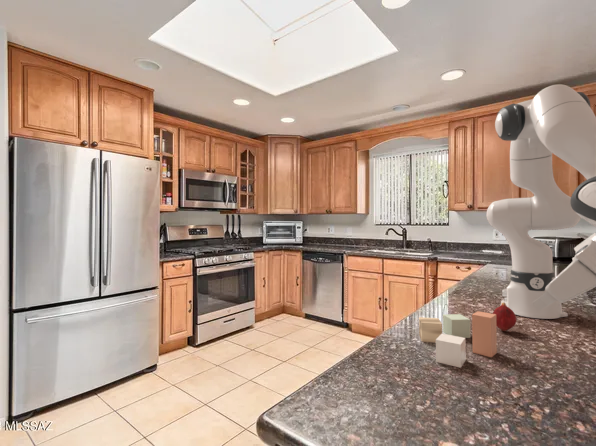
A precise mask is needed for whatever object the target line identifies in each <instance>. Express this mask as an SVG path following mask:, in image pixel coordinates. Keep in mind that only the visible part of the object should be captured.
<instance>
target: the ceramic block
mask: <svg viewBox="0 0 596 446" xmlns="http://www.w3.org/2000/svg"><path fill="white" fill-rule="evenodd" d="M466 345H467V344H466V338H463V337H458V336H453V335H447V334H445V333H442V334H441V335H440V336H439V337H438V338H437V339H436V343H435V362H436V363H439V364H443V365H448V366H451V367H452V366H453V367H457V368H460V369H461V368H462V367H463V365H464V364H465V362H466V360H467V356H466V353H467V352H466V351H467V350H466V347H467V346H466Z"/></svg>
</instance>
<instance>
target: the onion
mask: <svg viewBox="0 0 596 446" xmlns="http://www.w3.org/2000/svg"><path fill="white" fill-rule="evenodd" d="M500 305H501V304H500ZM492 314H496V327H497V328H498V329H500V331H502V332H507V331H509V330H511V329H512V328H514V327H515V325H516V324H517V316H516V314H515V313H514V312H513V311H512V310H511V309H510V308H509V307H507V306H506V304H505V303H502V305H501V306H498V307H496V308H495V309H493V312H492Z"/></svg>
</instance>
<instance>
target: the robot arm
mask: <svg viewBox="0 0 596 446" xmlns="http://www.w3.org/2000/svg"><path fill="white" fill-rule="evenodd" d="M591 107H592V106H591V101H590V98H589V97H588V95H587V94H585V93H584V92H581V91H576V90H575V89H574V88H572V87H570V86H569V85H565V84H561V83H559V84H552V85H549V86H547V87H545V88H542V89H541V90H540V91H538V92H537V93H536V94H535V96H534V97H533V98H532V99H529V100H524V101H520V102H518V103H511V104H507V105H506V106H503V107H502V108H501V109H499V111H498V112H497V113H496V118H495V122H494V128H495V132H496V133H497V136H498V137H499V139H501V140H502V141H506V142H507V141H508V142H510V147H509V175H510V176H509V178H510V180H511V183H512V184H513V185H515V186H517V187H518V188H521V189H524V190H527V191H530V192H531V194H533V196H531V197H514V198H504V199H499V200H495V201H492V202H491V203H490V204H489V205H488V208H486V214H485V215H486V219H487V223H488V224H489V225H490V226H491V227H492V228H493V229H495V230H496V231H498V232H500V234H502V235H503V237H504V239H505V240H506V242H507V244H508V245H509V248H510V254H511V270H510V273H509V276H510V277H509V278H510V282H509V284H508V285H507V287H506V288H504V289H502V290H501V293H502V294H501V295H502V297H504V298H503V299H501V301H500V306H501V305H502V303H505V304H506V306H507V307H509V308H510V309H511V310H512V311H513V312H514V313H515V316H516V315H517V316H521V317H524V318H525V317H526V318H532V319H543V320H545V319H546V320H548V319H549V320H552V319H559V318H563V317H565V318H567V317H569V315H568V312H567V311H564V310H563V307H562V303H566V302H569V301H570V300H573V299H575V298H577V297H579V296H581V295H582V294H585V293H587V292H588V291H590V290H592V289H594V288H596V231H595V232H594V233H592V234H591V235H590V236H588V237H587V238H585V239H584V240H583V241H581V242H580V243H579V244H577V245H576V246H575V247H573V250H574V251H575V255H574V257H573V256H572V258H571V259H572V261H571V263H569V264H568V265H567V266H566V267H565V268H564V269H563V270H562V271H561V272H560V273H558V274H557V275H556V276H555V272H553V271H554V270H553V266H554V263H553V250H552V248H551V247H550V246H549V245H548V244H546V243H545V242H543V241H540V240H538V239H535V238H534V237H532V236H530V235H529V231H531V230H532V231H541V230H542V231H556V230H565V229H569V228H570V229H571V228H575V226H577V224H578V223H580V221H581V220H585V221H586V222H587V223H589V224H590V225H591V226H594V227H595V228H596V115H595V113H594V111H593V109H592V108H591ZM553 155H554V156H556V157H557V158H559V159H561V160H562V161H564V162H565V163H566V164H568V165H569V166H570V167H572V168H574V169H575V170H576V171H578V172H579V173H580V174H581V175H582V176H583V177H584V178H585V179H586V180H584V181H583V182H581V183H580V184H579V185H578V186H577V187H576V188H575V189H574V190H573V192H572V194H571V196H570V195H568V194H566V193H565V192H563V191H562V189H561V188H560V187H559V186H558V184H557V183H556V180H555V177H554V169H553ZM500 306H499V307H500Z"/></svg>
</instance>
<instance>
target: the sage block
mask: <svg viewBox="0 0 596 446" xmlns="http://www.w3.org/2000/svg"><path fill="white" fill-rule="evenodd" d="M442 333H443V334H447V335H453V336H458V337H463V338H465V339H471V319H470V318H468V317H466V316H465V315H463V314H461V313H457V314H451V313H450V314H442Z"/></svg>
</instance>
